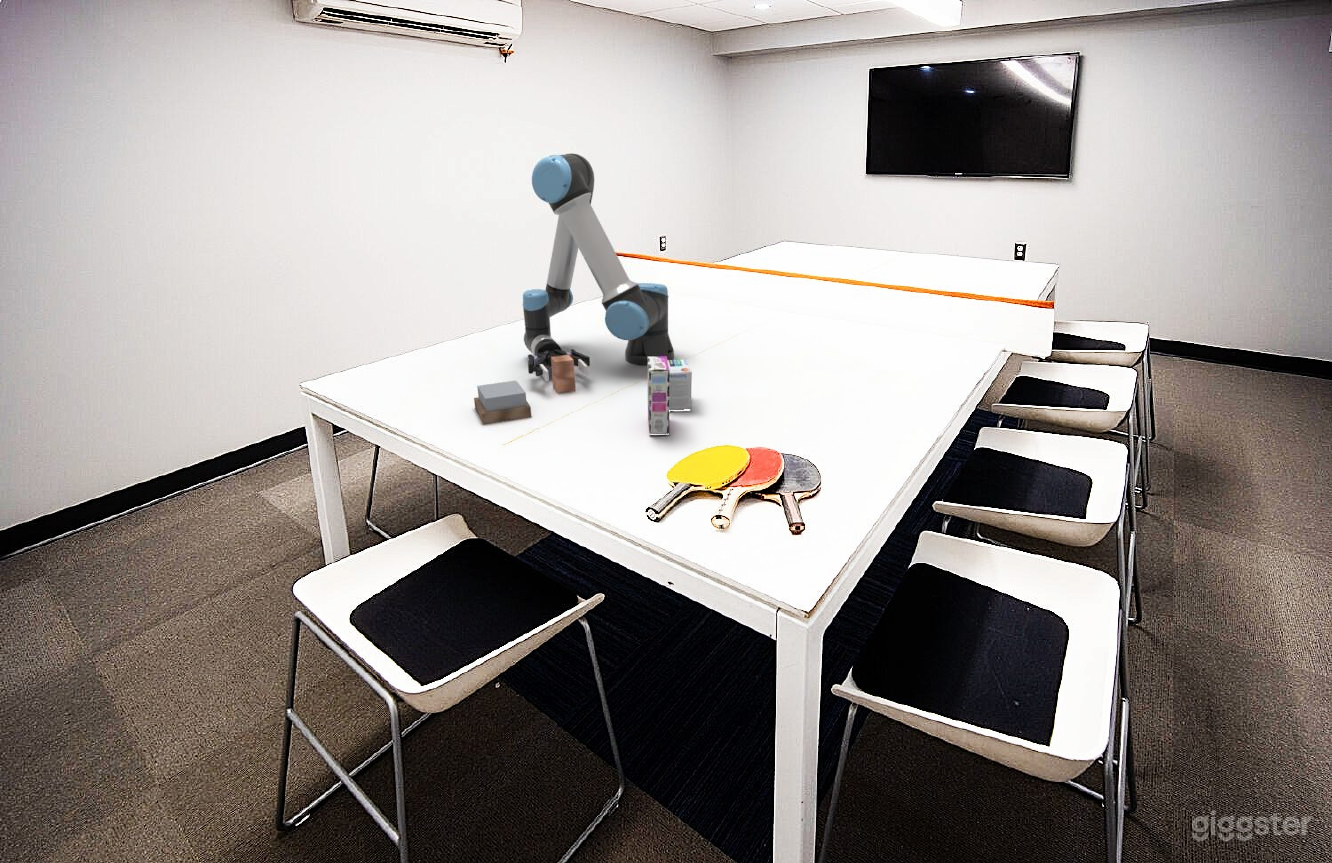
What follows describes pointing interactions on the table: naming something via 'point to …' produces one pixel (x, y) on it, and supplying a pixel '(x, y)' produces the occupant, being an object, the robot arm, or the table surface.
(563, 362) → the terracotta block
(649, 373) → the candy bar box
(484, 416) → the walnut slab
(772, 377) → the table surface
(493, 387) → the slate slab
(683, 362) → the light bulb box
